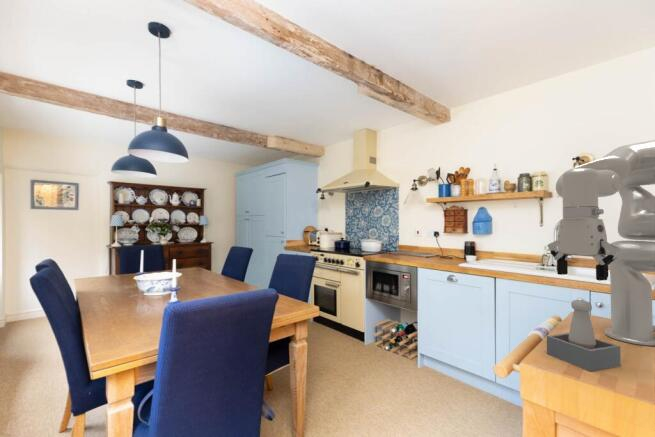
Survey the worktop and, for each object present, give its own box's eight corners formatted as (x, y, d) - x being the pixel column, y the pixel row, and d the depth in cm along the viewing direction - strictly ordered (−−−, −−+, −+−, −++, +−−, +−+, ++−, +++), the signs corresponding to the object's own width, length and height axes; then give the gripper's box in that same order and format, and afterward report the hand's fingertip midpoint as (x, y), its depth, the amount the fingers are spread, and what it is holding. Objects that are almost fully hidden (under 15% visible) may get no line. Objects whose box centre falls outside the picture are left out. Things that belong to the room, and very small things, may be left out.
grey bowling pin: (601, 354, 78) (601, 304, 79) (576, 352, 80) (576, 303, 80) (587, 346, 84) (586, 299, 85) (563, 344, 85) (563, 298, 86)
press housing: (574, 349, 89) (574, 332, 89) (620, 365, 78) (620, 346, 78) (546, 353, 85) (546, 335, 85) (591, 371, 75) (590, 351, 75)
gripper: (628, 213, 76) (629, 282, 75) (557, 215, 92) (558, 272, 92) (608, 212, 74) (609, 283, 73) (539, 215, 90) (540, 273, 90)
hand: (581, 277), depth 82 cm, fingers open, 9 cm apart
